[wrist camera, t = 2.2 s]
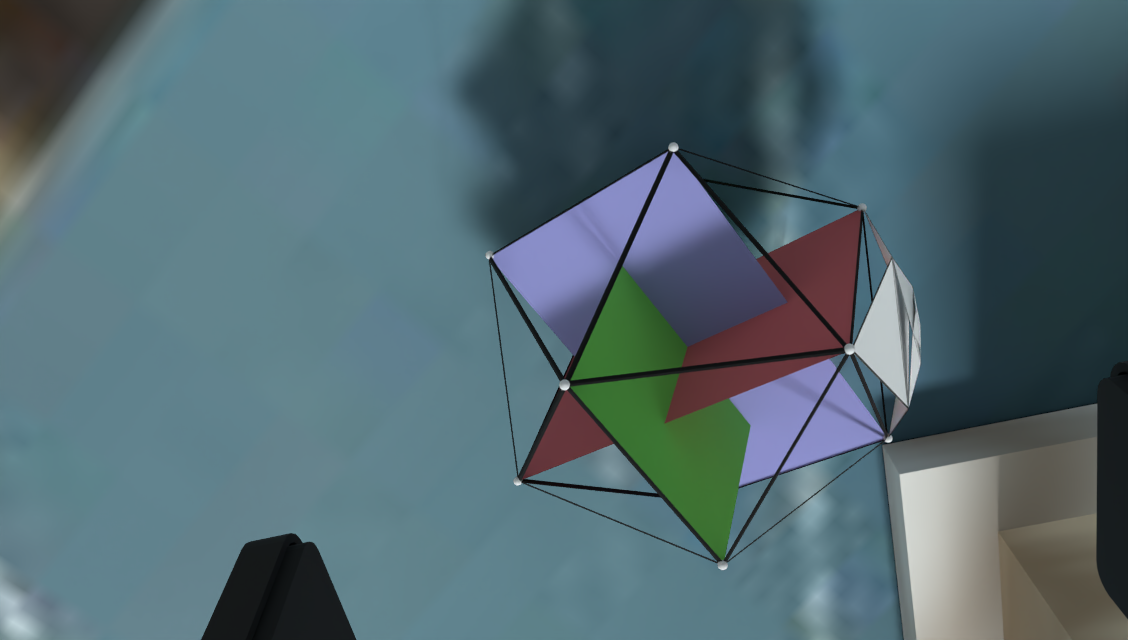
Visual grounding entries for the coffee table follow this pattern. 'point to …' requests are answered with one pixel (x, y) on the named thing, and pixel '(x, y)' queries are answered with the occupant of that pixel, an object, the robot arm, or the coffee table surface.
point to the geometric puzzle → (705, 342)
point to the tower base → (1001, 532)
